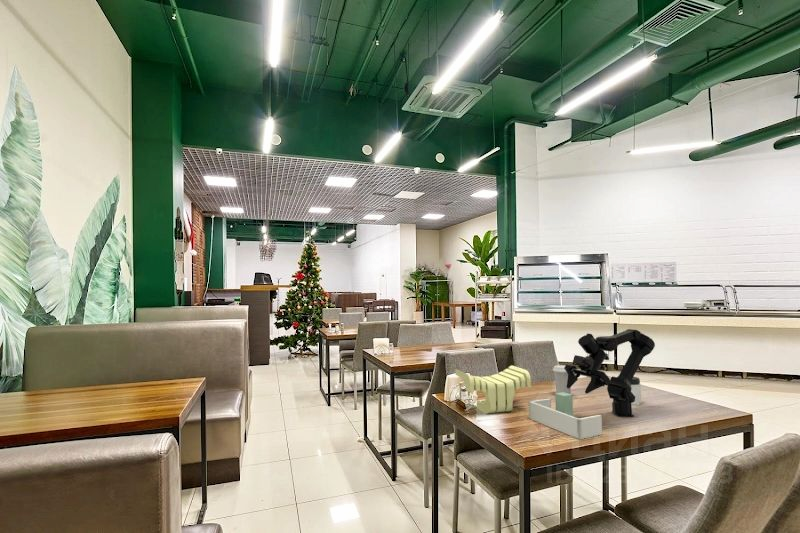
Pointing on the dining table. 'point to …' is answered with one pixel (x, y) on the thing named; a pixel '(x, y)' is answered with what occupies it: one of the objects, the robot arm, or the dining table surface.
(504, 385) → the slatted curved stool
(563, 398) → the block
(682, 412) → the dining table surface
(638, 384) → the jar
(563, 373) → the coffee cup
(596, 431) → the cream u-shaped wall
